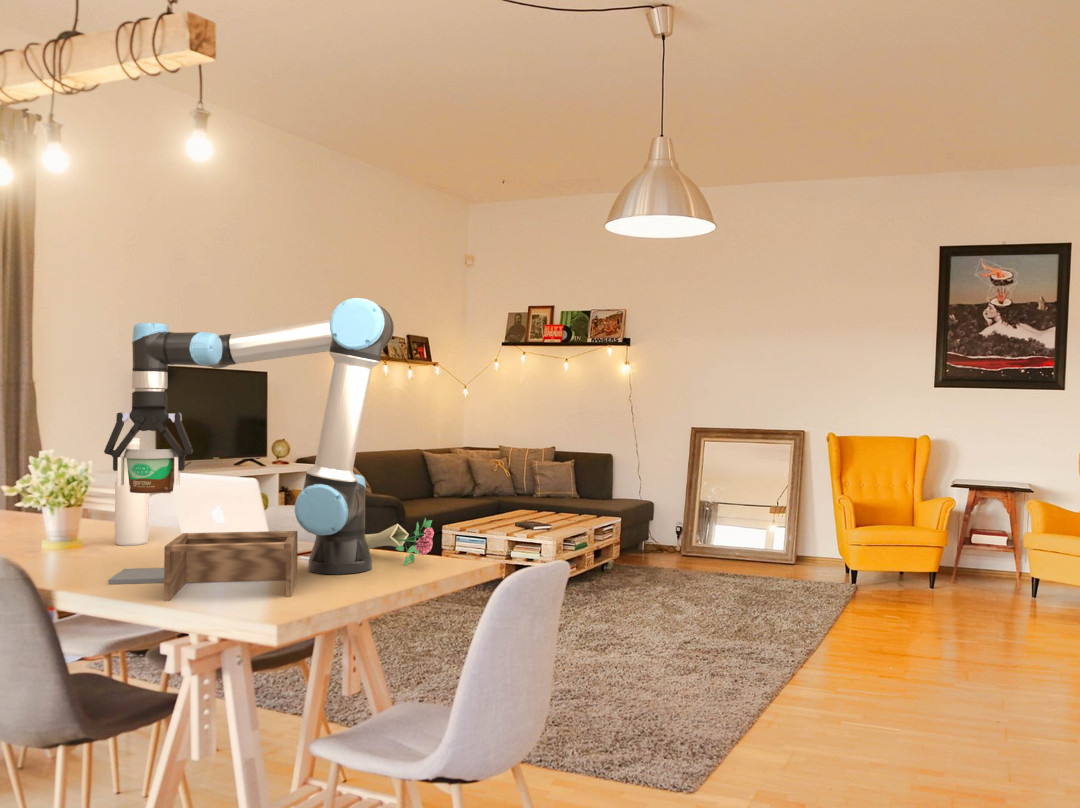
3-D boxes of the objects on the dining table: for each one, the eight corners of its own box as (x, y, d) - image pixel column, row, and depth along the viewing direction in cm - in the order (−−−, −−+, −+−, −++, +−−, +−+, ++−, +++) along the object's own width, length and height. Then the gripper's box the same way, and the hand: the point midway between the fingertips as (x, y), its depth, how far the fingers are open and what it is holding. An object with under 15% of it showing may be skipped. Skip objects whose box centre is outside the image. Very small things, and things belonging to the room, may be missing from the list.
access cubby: (297, 578, 215) (297, 530, 215) (291, 596, 195) (291, 543, 195) (182, 582, 210) (182, 533, 210) (164, 600, 191) (164, 546, 190)
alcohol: (123, 541, 271) (123, 437, 271) (153, 541, 271) (154, 437, 271) (109, 546, 262) (109, 438, 262) (140, 546, 262) (141, 438, 262)
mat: (186, 571, 224) (186, 567, 224) (175, 582, 210) (175, 577, 210) (124, 573, 221) (124, 568, 221) (108, 584, 207) (108, 579, 207)
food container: (115, 493, 211) (116, 449, 211) (124, 491, 218) (124, 448, 218) (172, 493, 213) (173, 449, 213) (179, 491, 219) (180, 448, 219)
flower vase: (370, 580, 254) (455, 567, 230) (332, 571, 246) (415, 557, 222) (376, 537, 258) (459, 520, 235) (339, 527, 250) (421, 509, 227)
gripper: (206, 391, 221) (206, 483, 221) (98, 390, 217) (97, 484, 217) (201, 390, 214) (200, 486, 214) (89, 389, 209) (88, 487, 209)
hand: (149, 485), depth 215 cm, fingers closed on food container, 11 cm apart
